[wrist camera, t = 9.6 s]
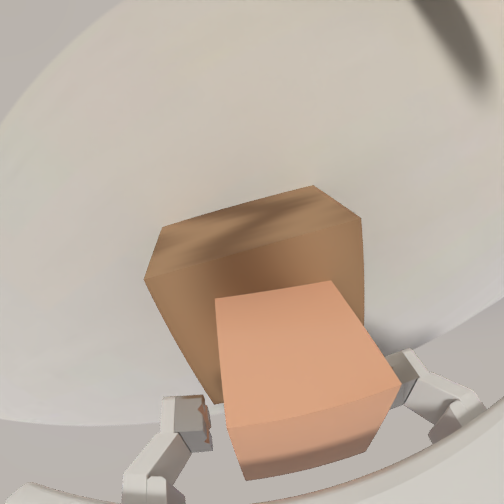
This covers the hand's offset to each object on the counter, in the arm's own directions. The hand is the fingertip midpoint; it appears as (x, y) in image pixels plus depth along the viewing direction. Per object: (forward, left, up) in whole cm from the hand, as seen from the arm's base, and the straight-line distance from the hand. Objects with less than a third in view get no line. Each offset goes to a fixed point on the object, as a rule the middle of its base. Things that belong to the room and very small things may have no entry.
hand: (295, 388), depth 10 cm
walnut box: (0, 0, -9) cm, 9 cm away
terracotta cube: (0, 0, -3) cm, 3 cm away
